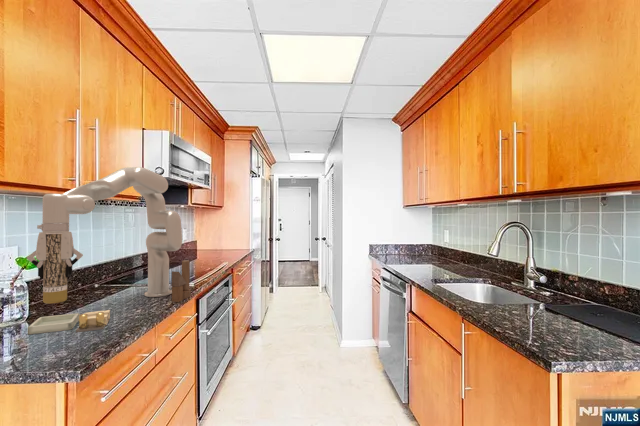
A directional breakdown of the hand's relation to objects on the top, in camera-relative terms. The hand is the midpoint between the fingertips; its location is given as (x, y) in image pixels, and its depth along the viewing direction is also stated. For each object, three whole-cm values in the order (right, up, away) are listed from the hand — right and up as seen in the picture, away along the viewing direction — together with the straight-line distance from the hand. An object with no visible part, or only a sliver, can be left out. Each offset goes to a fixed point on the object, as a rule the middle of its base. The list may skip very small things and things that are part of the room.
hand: (55, 277), depth 118 cm
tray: (0, -18, 0) cm, 18 cm away
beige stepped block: (+12, -18, +4) cm, 22 cm away
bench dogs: (+14, -18, -2) cm, 23 cm away
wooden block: (+29, -18, +39) cm, 52 cm away
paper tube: (0, -9, 0) cm, 9 cm away
